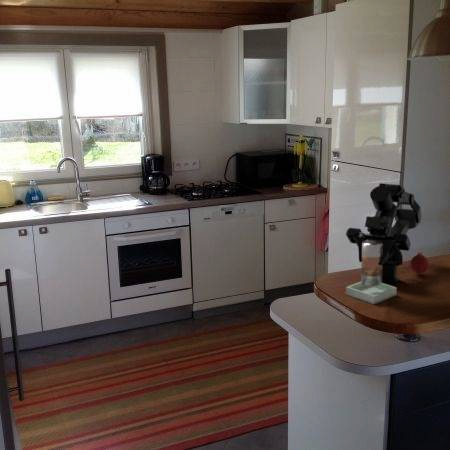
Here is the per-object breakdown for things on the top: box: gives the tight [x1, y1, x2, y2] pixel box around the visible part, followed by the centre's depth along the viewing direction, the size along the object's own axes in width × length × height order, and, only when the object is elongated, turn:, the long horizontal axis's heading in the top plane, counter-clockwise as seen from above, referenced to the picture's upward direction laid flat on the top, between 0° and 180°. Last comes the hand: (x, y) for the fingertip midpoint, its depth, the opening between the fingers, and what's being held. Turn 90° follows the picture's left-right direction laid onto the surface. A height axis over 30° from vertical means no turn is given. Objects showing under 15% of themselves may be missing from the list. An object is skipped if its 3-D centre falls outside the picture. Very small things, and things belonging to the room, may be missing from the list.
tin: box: [360, 240, 383, 286], centre depth 164 cm, size 6×6×12 cm
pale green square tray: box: [345, 281, 398, 305], centre depth 167 cm, size 11×11×2 cm
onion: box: [409, 251, 430, 276], centre depth 181 cm, size 6×6×8 cm
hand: (370, 263), depth 163 cm, fingers closed on tin, 6 cm apart
